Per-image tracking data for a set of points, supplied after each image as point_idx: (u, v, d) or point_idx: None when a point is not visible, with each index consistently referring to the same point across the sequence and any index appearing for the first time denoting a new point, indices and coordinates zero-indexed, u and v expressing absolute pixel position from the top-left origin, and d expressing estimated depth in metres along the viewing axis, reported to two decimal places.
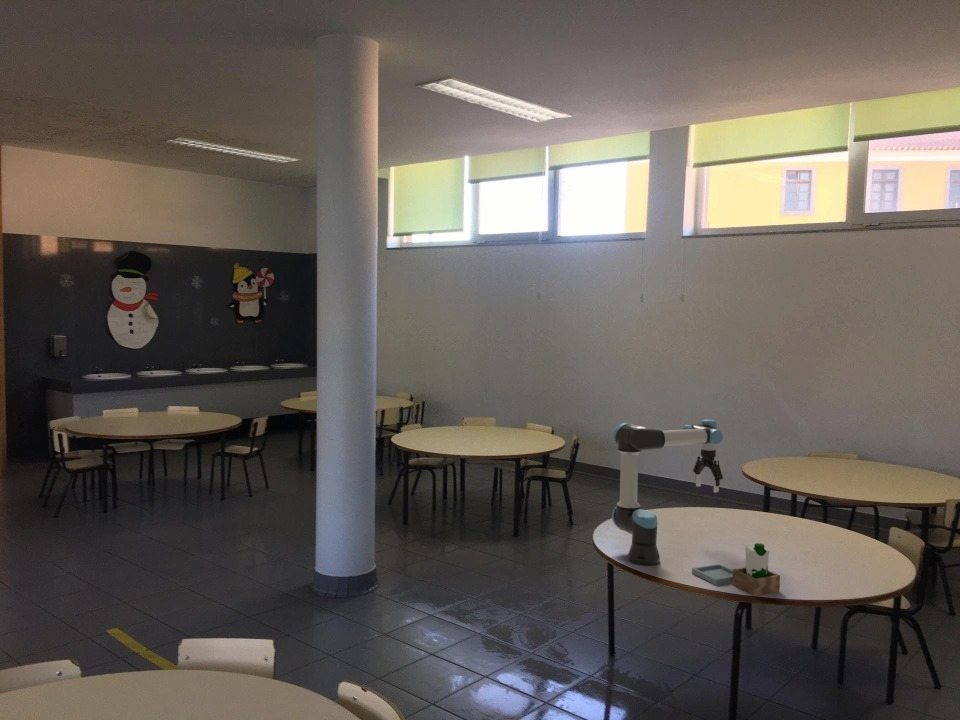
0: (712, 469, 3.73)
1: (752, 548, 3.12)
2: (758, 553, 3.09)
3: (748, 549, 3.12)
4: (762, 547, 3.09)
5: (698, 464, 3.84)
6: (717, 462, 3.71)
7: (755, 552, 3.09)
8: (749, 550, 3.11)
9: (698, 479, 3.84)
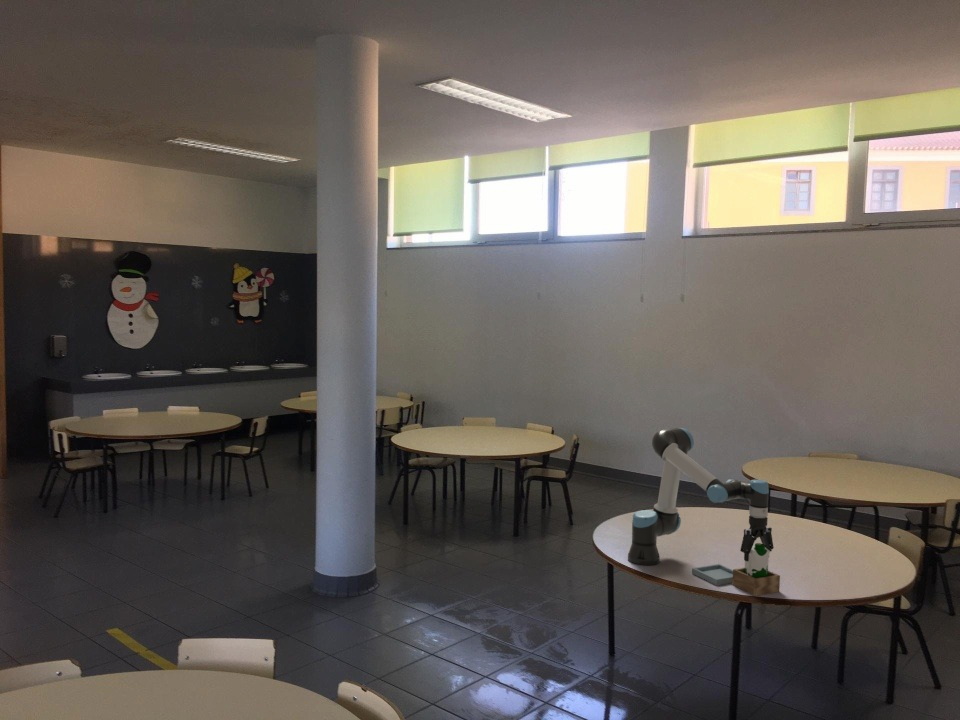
0: None
1: (752, 548, 3.12)
2: (758, 553, 3.09)
3: None
4: (762, 547, 3.09)
5: (767, 537, 3.15)
6: (745, 532, 3.10)
7: (755, 552, 3.09)
8: None
9: None
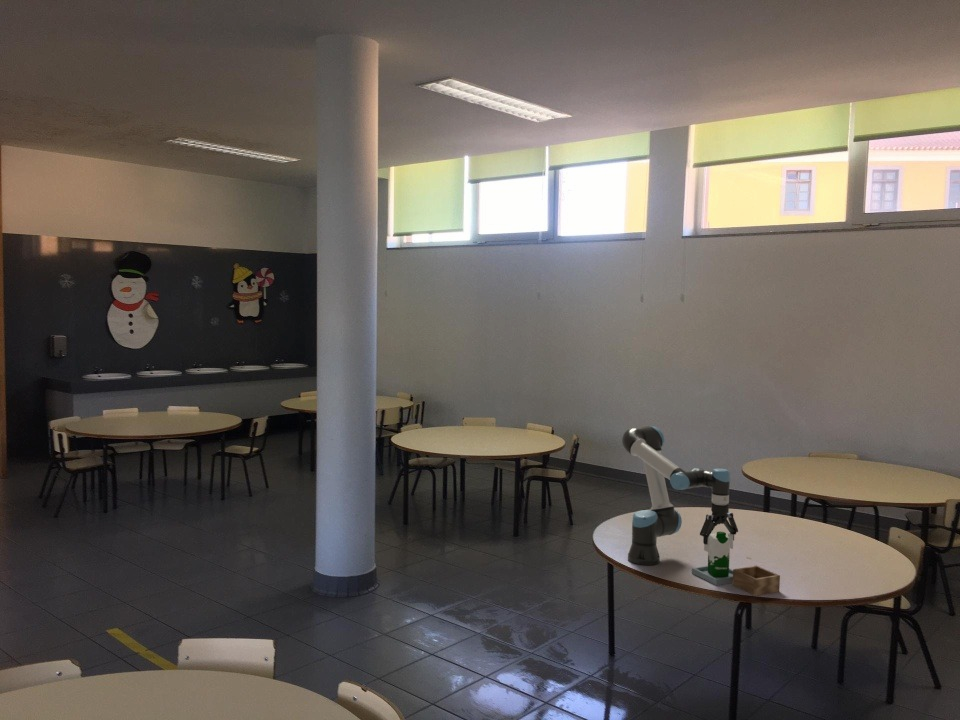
0: None
1: (714, 536, 3.25)
2: (720, 541, 3.22)
3: (710, 537, 3.25)
4: (724, 535, 3.22)
5: (730, 522, 3.29)
6: (707, 516, 3.23)
7: (717, 540, 3.22)
8: (711, 538, 3.24)
9: None
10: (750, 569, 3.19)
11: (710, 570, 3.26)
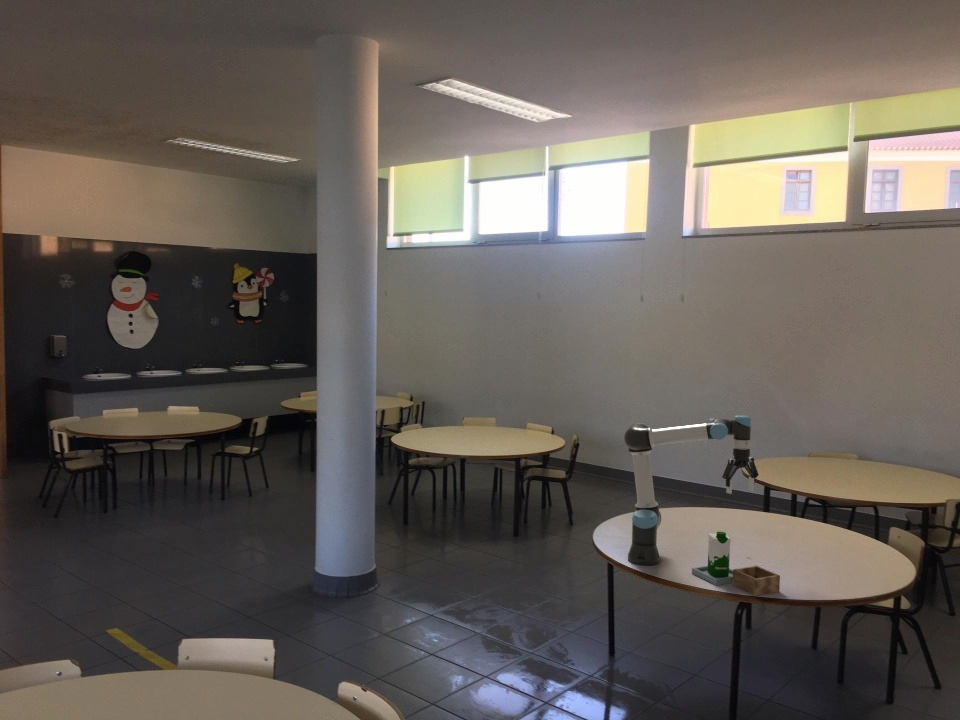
0: (731, 468, 3.42)
1: (714, 536, 3.25)
2: (720, 541, 3.22)
3: (710, 537, 3.25)
4: (724, 535, 3.22)
5: (751, 466, 3.46)
6: (730, 460, 3.40)
7: (717, 540, 3.22)
8: (711, 538, 3.24)
9: (750, 483, 3.46)
10: (750, 569, 3.19)
11: (710, 570, 3.26)
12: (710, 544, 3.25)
